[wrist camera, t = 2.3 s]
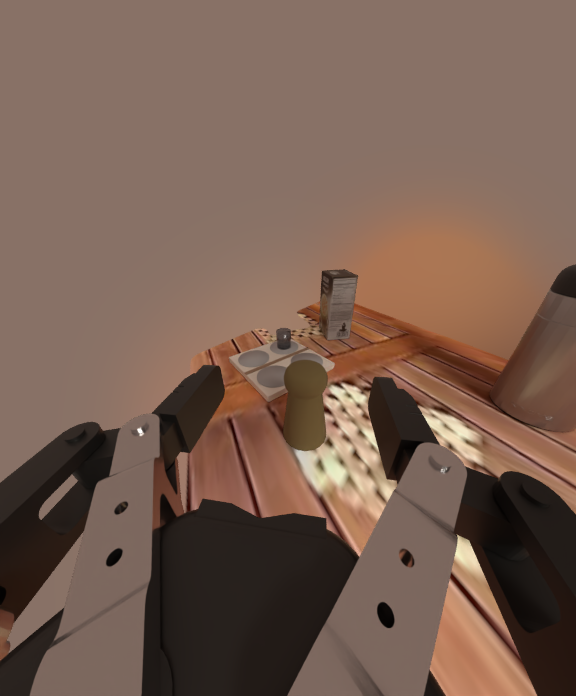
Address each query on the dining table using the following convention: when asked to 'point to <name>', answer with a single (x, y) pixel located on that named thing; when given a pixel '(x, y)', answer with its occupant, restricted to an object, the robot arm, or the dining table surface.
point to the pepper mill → (305, 405)
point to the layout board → (273, 366)
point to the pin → (283, 338)
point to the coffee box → (337, 303)
